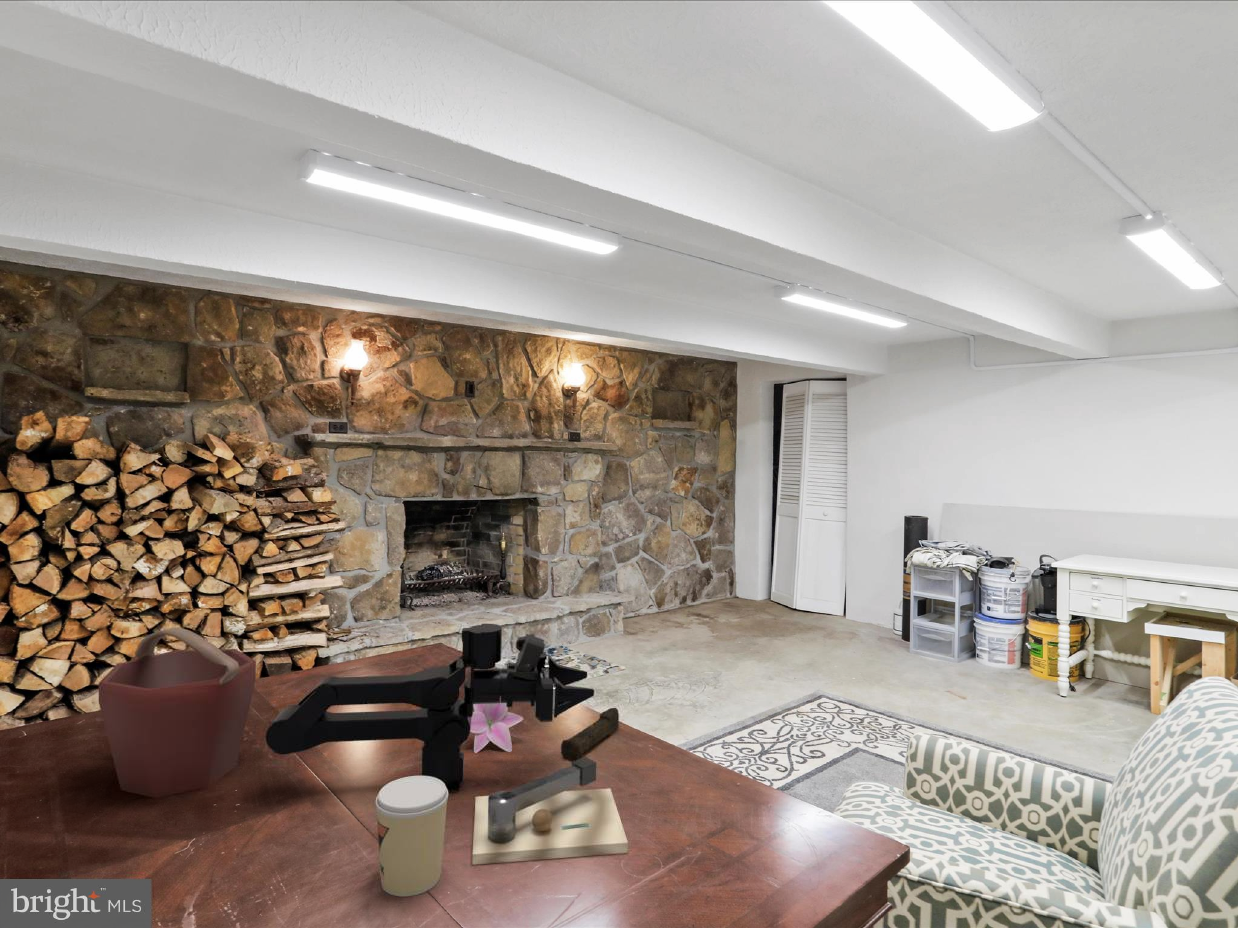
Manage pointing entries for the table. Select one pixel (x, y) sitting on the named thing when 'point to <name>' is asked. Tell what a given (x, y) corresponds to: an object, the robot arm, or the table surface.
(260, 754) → the table surface
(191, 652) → the bucket
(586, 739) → the wooden log
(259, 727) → the table surface
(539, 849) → the board
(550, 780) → the lever
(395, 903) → the table surface
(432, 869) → the lidded canister
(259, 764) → the table surface
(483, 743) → the lily
